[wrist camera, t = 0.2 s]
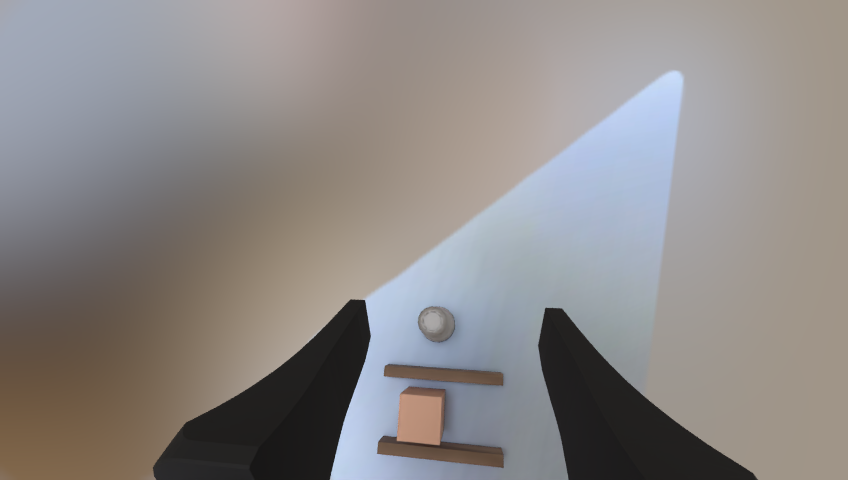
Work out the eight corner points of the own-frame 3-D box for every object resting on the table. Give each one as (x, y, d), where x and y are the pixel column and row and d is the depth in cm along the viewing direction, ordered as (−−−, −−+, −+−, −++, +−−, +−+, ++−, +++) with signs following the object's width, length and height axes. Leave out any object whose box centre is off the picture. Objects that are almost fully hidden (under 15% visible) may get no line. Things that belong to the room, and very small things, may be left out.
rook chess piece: (458, 312, 44) (457, 306, 36) (449, 346, 43) (446, 348, 35) (426, 302, 45) (418, 295, 37) (416, 336, 44) (406, 335, 36)
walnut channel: (501, 459, 38) (503, 467, 36) (382, 447, 40) (377, 453, 38) (500, 372, 41) (502, 374, 39) (389, 364, 43) (384, 365, 41)
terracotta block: (443, 430, 40) (439, 445, 34) (406, 426, 41) (396, 440, 35) (445, 389, 41) (441, 397, 36) (409, 386, 42) (400, 393, 36)
